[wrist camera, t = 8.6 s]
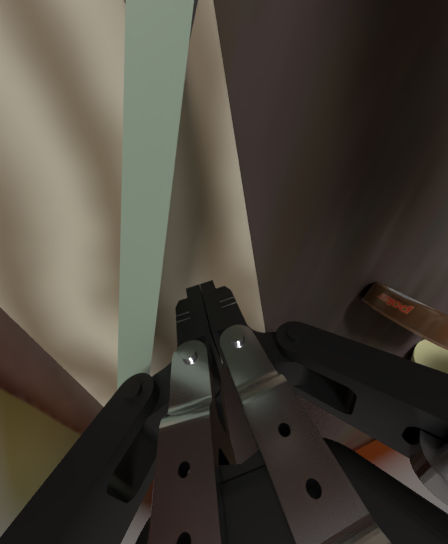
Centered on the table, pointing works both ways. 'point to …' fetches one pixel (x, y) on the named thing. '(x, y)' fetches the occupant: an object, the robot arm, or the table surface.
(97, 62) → the gate frame
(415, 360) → the pale yellow c-shaped piece
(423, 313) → the tin
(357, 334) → the table surface
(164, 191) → the gate
